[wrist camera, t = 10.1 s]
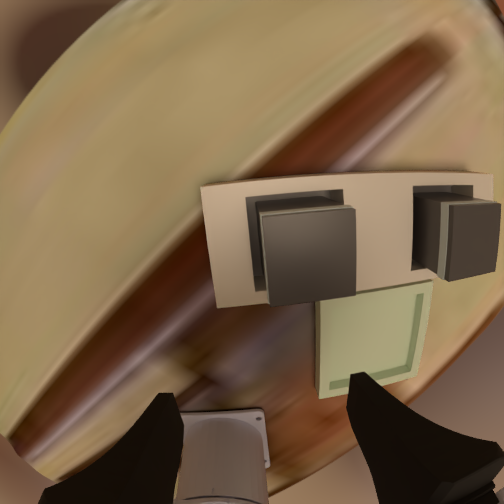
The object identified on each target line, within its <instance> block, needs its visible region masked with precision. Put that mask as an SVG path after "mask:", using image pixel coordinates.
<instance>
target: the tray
mask: <svg viewBox="0 0 504 504" xmlns="http://www.w3.org/2000/svg"><path fill="white" fill-rule="evenodd" d="M432 289H433V281H432V280H431V279H427V280H422V281H416V282H411V283H405V284H399V285H393V286H387V287H381V288H375V289H368V290H362V291H356V296H350V297H344V298H337V299H330V300H323V301H316V302H315V328H316V360H315V388H316V391H317V394H318V397H319V399H322V398H328V397H333V396H338V395H343V394H348V391H349V382H350V374H354V373H359V372H366V373H367V374H368V375H369V376H370V377H371V378H373V379H374V380H375V381H376V382H377V383H378V384H379V385H381V386H383V385H387V384H391V383H394V382H398V381H402V380H405V379H409V378H412V377H415V376H417V373H418V369H419V364H420V360H421V355H422V351H423V346H424V341H425V335H426V330H427V324H428V318H429V311H430V305H431V297H432Z"/></svg>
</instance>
